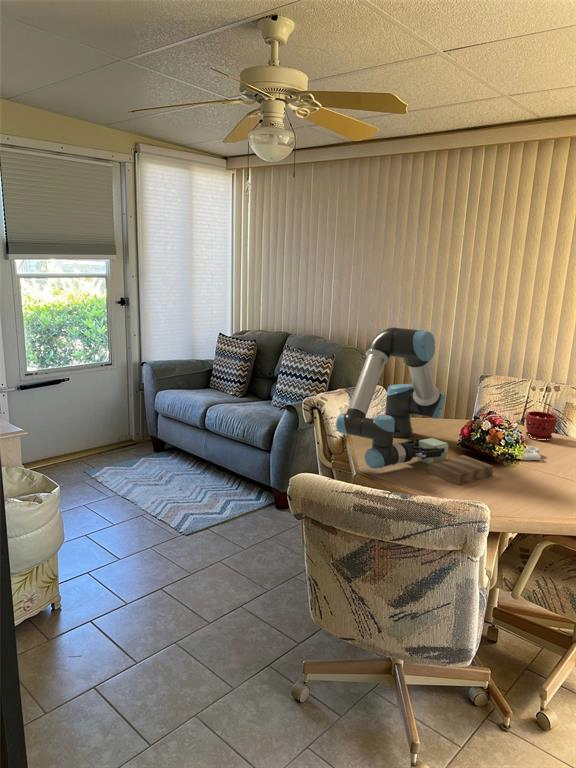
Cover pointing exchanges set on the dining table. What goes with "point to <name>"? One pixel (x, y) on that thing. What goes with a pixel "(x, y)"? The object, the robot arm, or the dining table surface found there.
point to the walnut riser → (460, 469)
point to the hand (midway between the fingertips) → (438, 445)
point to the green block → (431, 444)
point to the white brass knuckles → (531, 453)
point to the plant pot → (540, 424)
